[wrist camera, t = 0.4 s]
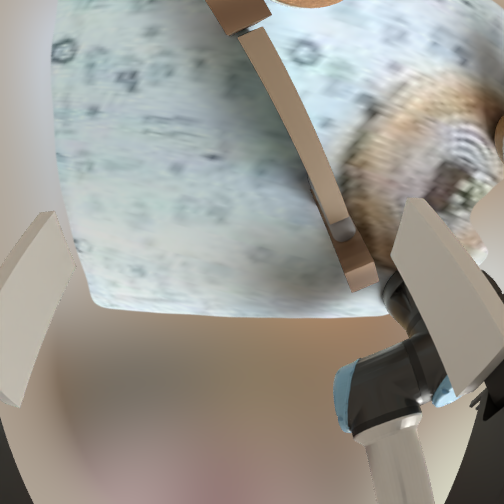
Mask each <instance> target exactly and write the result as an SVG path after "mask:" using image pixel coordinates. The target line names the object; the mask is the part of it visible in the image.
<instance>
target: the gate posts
mask: <svg viewBox="0 0 504 504" xmlns="http://www.w3.org/2000/svg"><path fill="white" fill-rule="evenodd" d="M205 1H206V3H207V4H208V6H209V7H210V9H211V10H212V12H213V14H214V15H215V17H216V18H217V20H218V22H219V23H220V25H221V26H222V28H223V30H224V31H225V33H226V35H228V36H231V35H233V34H235V33H238V32H240V31H242V30H244V29H246V28H248V27H251V26H253V25H255V24H257V23H258V22H260V21H262V20H264V19H265V18H267V17H269V16H271V15H272V14H271V12H270V10H269V8H268V7H267V5H266V3H265V2H264V0H205ZM310 191H311V193H312V195H313V198H314V200H315V202H316V205H317V207H318V209H319V212H320V214H321V216H322V219H323V221H324V224H325V226H326V228H327V231H328V233H329V236H330V238H331V241H332V243H333V246H334V248H335V251H336V253H337V256H338V258H339V261H340V264H341V266H342V269H343V271H344V274H345V277H346V279H347V282H348V284H349V287H350V289H351V292H352V293H353V292H355V291H358V290H360V289H362V288H365V287H367V286H370V285H372V284H374V283H377V282H379V278H378V274H377V270H376V267H375V263H374V260H373V258H372V256H371V254H370V252H369V250H368V248H367V246H366V245H365V243H364V241H363V239H362V237H361V235H360V233H359V231H358V229H357V227H356V225H355V223H354V222H353V220H352V218H351V216H350V214H349V212H348V214H349V216H350V218H351V220H352V222H353V224H354V226H355V228H356V232H355V234H354V236H353V237H352V238H351V239H350V240H348V241H345V242H339V241H336V240H335V239H334V238H333V236H332V233H331V231H330V228H329V226H328V224H327V221H326V219H325V217H324V214H323V212H322V210H321V208H320V205H319V203H318V201H317V199H316V196H315V194H314V192H313V190H312V189H310Z"/></svg>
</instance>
